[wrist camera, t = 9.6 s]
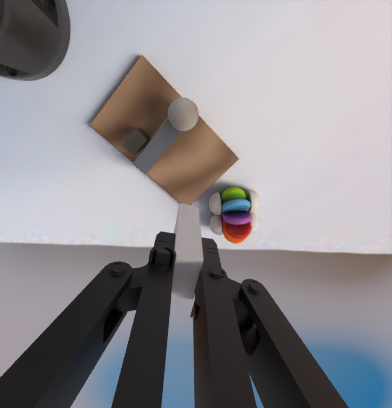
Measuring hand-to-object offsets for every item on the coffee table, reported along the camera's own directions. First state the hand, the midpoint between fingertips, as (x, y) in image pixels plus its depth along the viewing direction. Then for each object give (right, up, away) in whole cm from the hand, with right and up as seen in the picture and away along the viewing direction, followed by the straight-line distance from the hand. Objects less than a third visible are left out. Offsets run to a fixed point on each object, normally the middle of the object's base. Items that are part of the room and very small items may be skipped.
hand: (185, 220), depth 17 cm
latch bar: (-5, +11, +16) cm, 20 cm away
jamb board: (-4, +11, +17) cm, 21 cm away
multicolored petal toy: (+7, +1, +23) cm, 24 cm away
